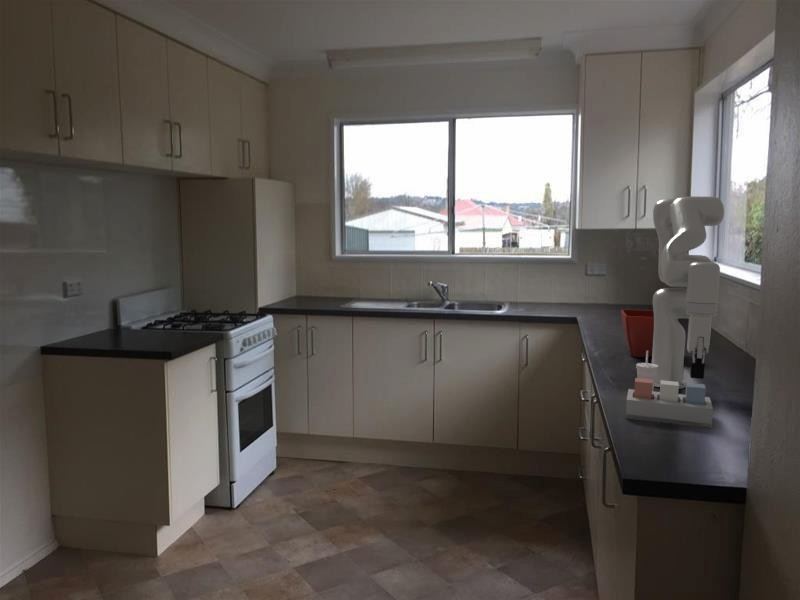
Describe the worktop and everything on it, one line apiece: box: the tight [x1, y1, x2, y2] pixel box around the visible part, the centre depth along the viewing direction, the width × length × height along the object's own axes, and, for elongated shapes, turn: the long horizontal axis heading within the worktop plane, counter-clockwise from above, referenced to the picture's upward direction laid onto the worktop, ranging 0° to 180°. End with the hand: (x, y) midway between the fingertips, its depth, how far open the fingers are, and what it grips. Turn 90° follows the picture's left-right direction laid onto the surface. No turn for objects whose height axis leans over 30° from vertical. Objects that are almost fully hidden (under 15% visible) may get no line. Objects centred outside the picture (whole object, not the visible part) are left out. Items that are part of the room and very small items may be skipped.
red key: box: [634, 377, 653, 399], centre depth 177 cm, size 4×4×4 cm
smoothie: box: [635, 351, 658, 391], centre depth 195 cm, size 6×6×14 cm
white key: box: [659, 380, 680, 402], centre depth 175 cm, size 4×4×4 cm
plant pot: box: [620, 308, 679, 358], centre depth 256 cm, size 19×19×17 cm
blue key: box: [684, 382, 707, 405], centre depth 172 cm, size 4×4×4 cm
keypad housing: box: [625, 388, 714, 429], centre depth 175 cm, size 12×21×5 cm, turn 68°
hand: (696, 377), depth 171 cm, fingers closed
